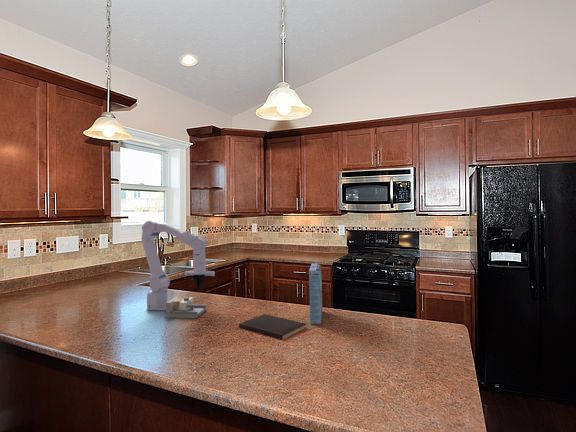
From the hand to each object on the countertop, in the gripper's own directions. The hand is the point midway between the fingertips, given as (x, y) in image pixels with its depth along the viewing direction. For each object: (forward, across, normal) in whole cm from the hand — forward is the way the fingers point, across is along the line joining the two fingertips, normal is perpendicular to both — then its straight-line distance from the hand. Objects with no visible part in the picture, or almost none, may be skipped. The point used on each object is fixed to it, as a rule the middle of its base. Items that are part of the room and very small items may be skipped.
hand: (199, 290), depth 171 cm
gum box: (+10, +57, -8) cm, 59 cm away
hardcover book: (+10, +40, -23) cm, 47 cm away
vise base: (+10, -5, -7) cm, 13 cm away
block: (+8, -7, -7) cm, 13 cm away
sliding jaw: (+8, -4, -7) cm, 11 cm away
